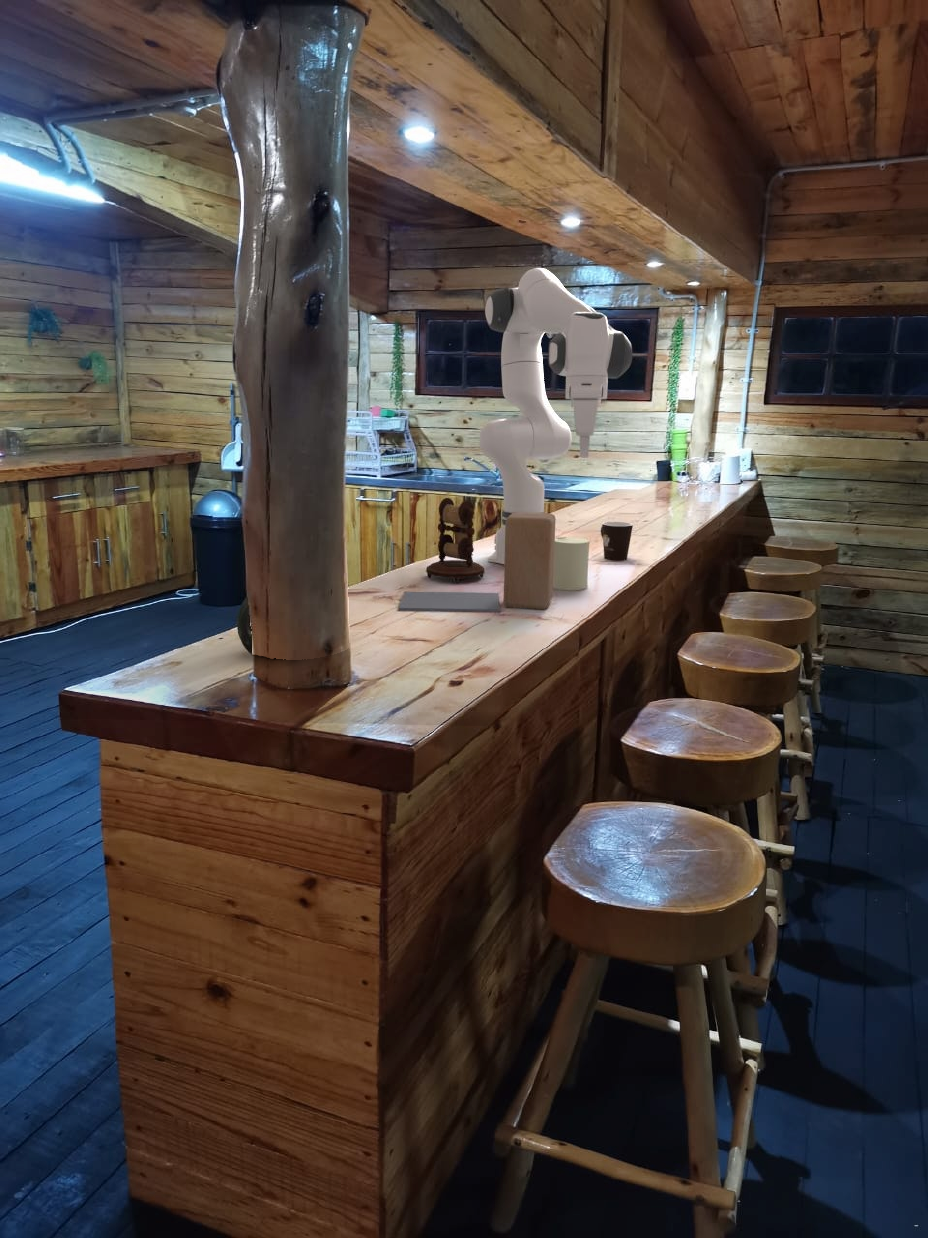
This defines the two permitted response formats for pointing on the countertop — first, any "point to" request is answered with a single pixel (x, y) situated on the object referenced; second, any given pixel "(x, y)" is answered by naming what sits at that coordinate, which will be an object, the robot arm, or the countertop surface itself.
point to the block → (529, 560)
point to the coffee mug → (616, 540)
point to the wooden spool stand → (456, 543)
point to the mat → (449, 601)
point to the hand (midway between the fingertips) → (584, 456)
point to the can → (570, 563)
